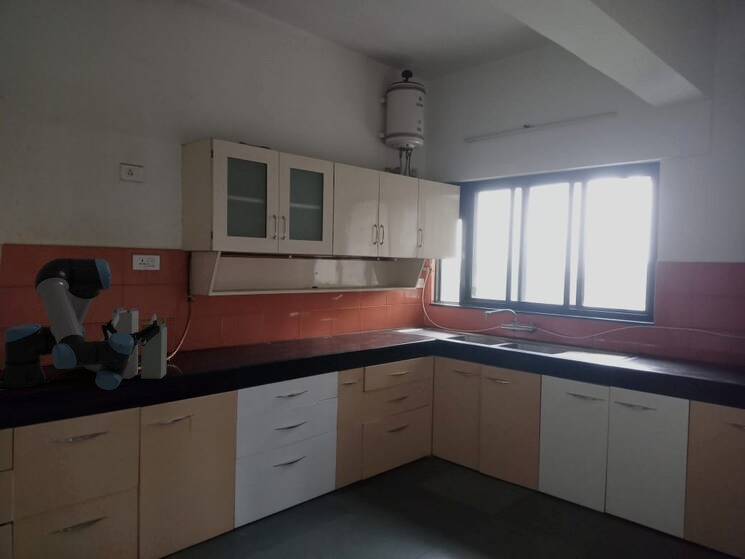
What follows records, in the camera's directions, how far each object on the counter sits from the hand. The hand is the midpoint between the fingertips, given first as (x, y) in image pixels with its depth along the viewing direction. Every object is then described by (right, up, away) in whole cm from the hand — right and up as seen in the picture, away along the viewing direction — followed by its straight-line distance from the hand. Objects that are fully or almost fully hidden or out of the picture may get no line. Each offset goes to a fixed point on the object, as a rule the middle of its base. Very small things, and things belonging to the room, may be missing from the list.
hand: (136, 315), depth 194 cm
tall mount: (-15, -28, +22) cm, 38 cm away
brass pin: (-3, -8, +21) cm, 22 cm away
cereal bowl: (-29, -27, +30) cm, 50 cm away
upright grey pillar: (-4, -28, +24) cm, 37 cm away
